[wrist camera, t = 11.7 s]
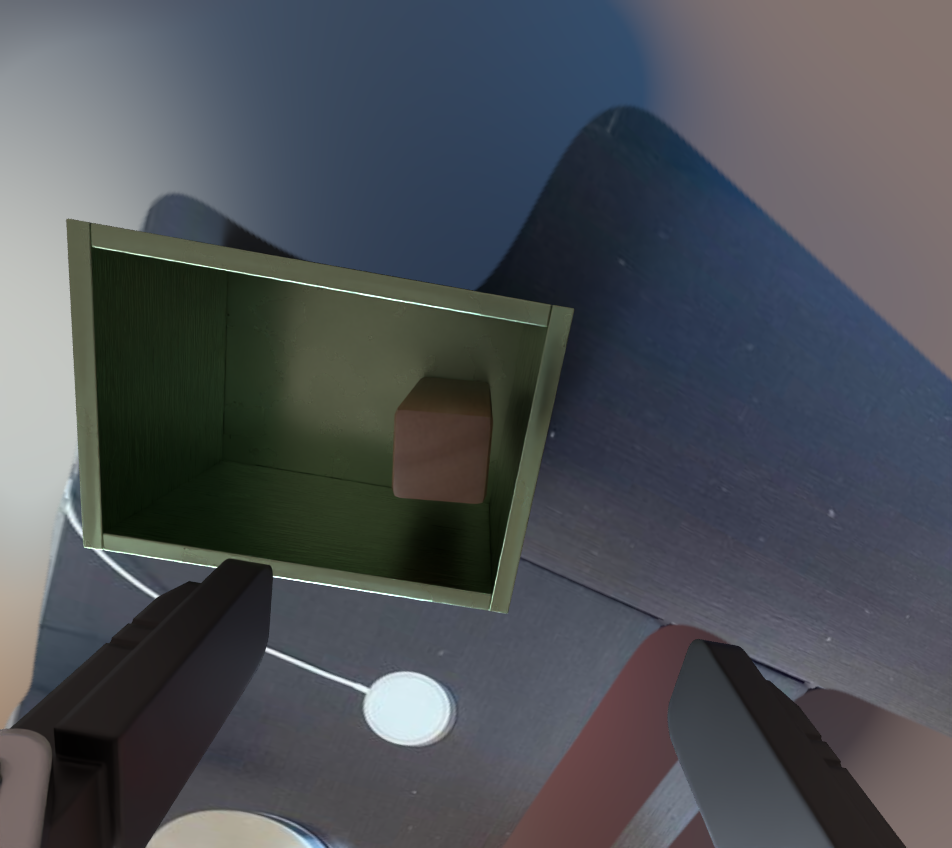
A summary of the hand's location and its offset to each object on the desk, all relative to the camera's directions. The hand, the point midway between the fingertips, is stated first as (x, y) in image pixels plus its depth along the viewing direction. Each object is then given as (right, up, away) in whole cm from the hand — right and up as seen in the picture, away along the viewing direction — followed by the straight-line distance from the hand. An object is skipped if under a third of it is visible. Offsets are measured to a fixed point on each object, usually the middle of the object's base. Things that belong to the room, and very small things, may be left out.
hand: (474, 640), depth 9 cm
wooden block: (-1, +5, +18) cm, 19 cm away
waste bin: (-6, +6, +18) cm, 20 cm away
